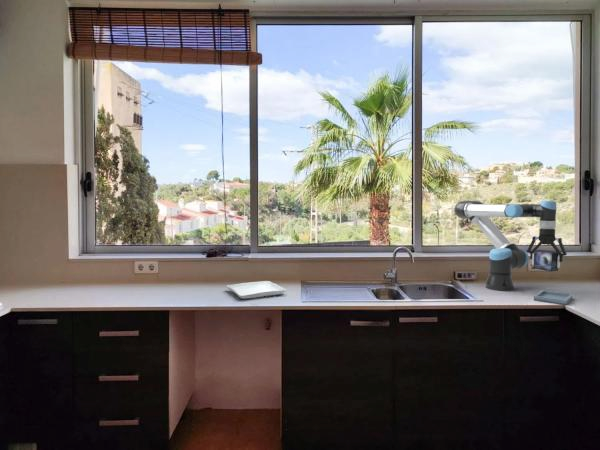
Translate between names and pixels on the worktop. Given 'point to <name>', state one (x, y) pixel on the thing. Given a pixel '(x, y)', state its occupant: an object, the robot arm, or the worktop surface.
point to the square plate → (256, 289)
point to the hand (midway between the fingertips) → (545, 266)
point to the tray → (553, 297)
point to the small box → (546, 260)
